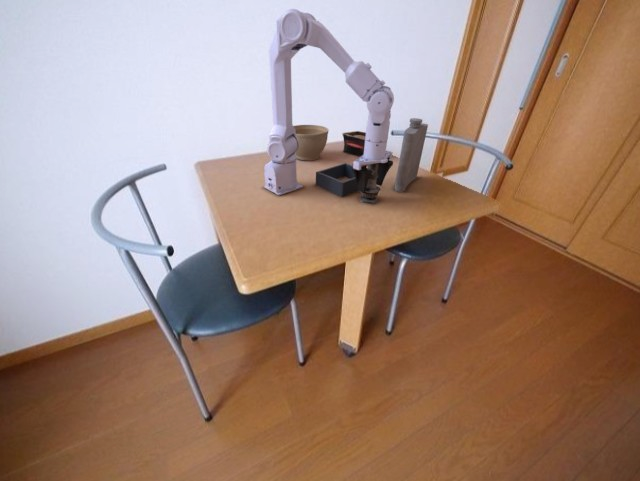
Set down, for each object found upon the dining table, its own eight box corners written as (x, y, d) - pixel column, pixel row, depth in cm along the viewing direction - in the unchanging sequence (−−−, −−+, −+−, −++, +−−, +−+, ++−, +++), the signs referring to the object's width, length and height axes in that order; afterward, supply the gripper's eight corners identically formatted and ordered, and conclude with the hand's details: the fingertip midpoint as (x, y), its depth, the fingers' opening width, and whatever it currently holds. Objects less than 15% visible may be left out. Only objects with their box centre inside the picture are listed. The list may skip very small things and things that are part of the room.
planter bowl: (305, 148, 125) (305, 122, 119) (335, 156, 117) (336, 129, 110) (279, 157, 114) (277, 129, 108) (309, 166, 106) (309, 136, 100)
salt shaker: (378, 195, 86) (383, 156, 80) (379, 204, 81) (385, 163, 75) (358, 194, 87) (362, 155, 80) (358, 203, 82) (363, 162, 75)
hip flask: (402, 192, 89) (415, 124, 77) (390, 189, 90) (401, 122, 79) (417, 177, 100) (431, 115, 89) (406, 174, 102) (418, 114, 90)
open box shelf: (342, 197, 85) (343, 183, 83) (315, 185, 92) (315, 171, 89) (370, 185, 93) (372, 172, 90) (344, 175, 100) (345, 162, 97)
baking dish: (361, 149, 132) (359, 127, 127) (392, 153, 120) (392, 128, 115) (338, 158, 125) (335, 134, 120) (369, 162, 112) (367, 136, 108)
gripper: (370, 148, 68) (364, 200, 76) (404, 138, 76) (396, 185, 84) (348, 141, 72) (345, 191, 80) (383, 133, 81) (376, 178, 88)
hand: (369, 188), depth 82 cm, fingers open, 7 cm apart
